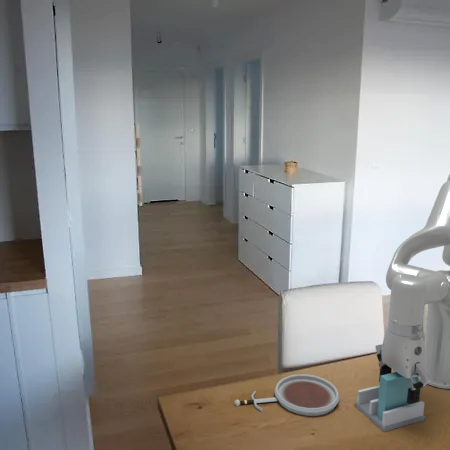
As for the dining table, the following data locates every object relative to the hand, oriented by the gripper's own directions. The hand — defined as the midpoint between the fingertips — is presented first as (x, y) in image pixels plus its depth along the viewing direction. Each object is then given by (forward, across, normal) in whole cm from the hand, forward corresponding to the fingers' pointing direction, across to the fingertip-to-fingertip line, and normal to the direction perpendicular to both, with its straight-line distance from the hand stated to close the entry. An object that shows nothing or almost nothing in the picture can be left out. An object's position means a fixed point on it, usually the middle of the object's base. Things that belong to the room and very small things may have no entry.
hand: (398, 391), depth 116 cm
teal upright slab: (+6, 0, 0) cm, 6 cm away
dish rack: (+7, +2, 0) cm, 8 cm away
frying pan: (+8, +17, +21) cm, 28 cm away
